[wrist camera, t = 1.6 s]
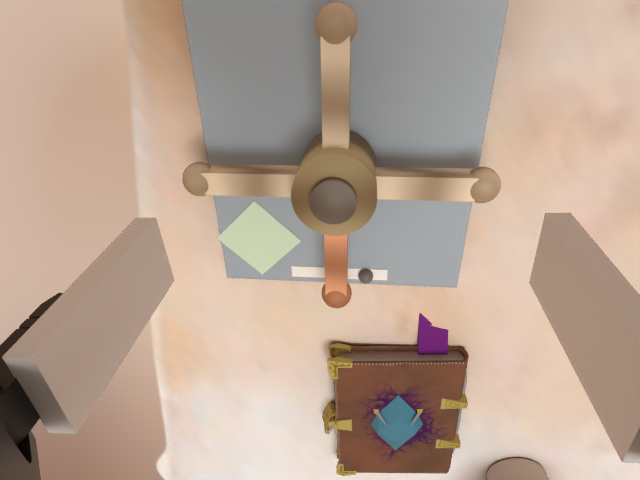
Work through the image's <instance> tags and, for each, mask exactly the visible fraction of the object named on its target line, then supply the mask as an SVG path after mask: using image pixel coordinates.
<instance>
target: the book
mask: <svg viewBox="0 0 640 480" xmlns="http://www.w3.org/2000/svg"><path fill="white" fill-rule="evenodd" d="M430 325H432V324H431V322H429V321H428V320H427V319H426V318H425V317H424V316H423V315H422V314H421V313H420V315H419V328H418V346H351V345H345V344H340V343H336V344H331V345H330V354H331V357H332V358H329V359H328V370H329V373H330V376H331V379H334V388H335V408H334V403H333V402H329V404H328V405H327V407H326V409H325V411H324V414H323V416H322V418H323V421H324V426H325V433H327V434H329V433H330V431H331V430H332V428H333V429H335V433H336V434H337V437H338V449H337V458H339V461H338V464H337V474H339V475H342V476H347V475H354V474H356V473H447V472H448V471H449V468H450V464H451V458H452V454H453V452H454V450H455V448H460V440H459V436H458V429H459V423H460V417H461V411H462V408H467V406H468V403H467V399H466V396H465V388H466V382H467V371H466V368H467V362H468V353H467V351H466V350H465V349H464V348H462V347H461V346H449V345H448V330H446V329H441V328H437V327H433V326H430Z"/></svg>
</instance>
